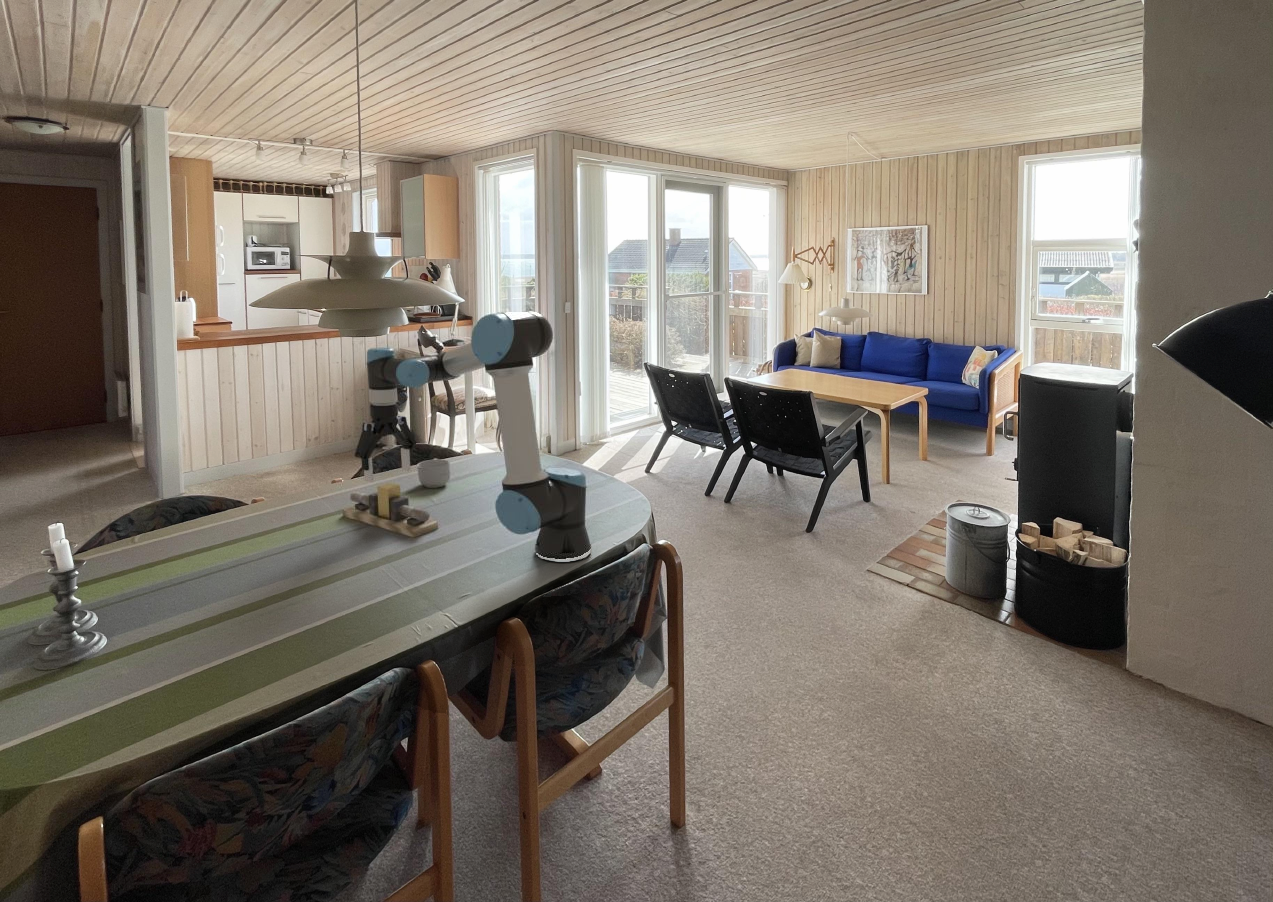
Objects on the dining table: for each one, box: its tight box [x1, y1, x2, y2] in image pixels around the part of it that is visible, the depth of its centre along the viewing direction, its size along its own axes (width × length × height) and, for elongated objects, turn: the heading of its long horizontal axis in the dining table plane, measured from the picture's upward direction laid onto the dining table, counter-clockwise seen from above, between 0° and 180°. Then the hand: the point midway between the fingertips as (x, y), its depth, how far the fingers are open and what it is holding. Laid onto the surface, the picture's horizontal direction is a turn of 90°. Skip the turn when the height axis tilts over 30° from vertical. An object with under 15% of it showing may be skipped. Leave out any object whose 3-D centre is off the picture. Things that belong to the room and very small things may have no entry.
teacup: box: [416, 458, 451, 489], centre depth 258 cm, size 14×11×8 cm
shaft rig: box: [342, 491, 439, 538], centre depth 220 cm, size 30×9×8 cm, turn 59°
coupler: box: [376, 482, 402, 519], centre depth 220 cm, size 5×4×9 cm
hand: (388, 475), depth 218 cm, fingers open, 13 cm apart
